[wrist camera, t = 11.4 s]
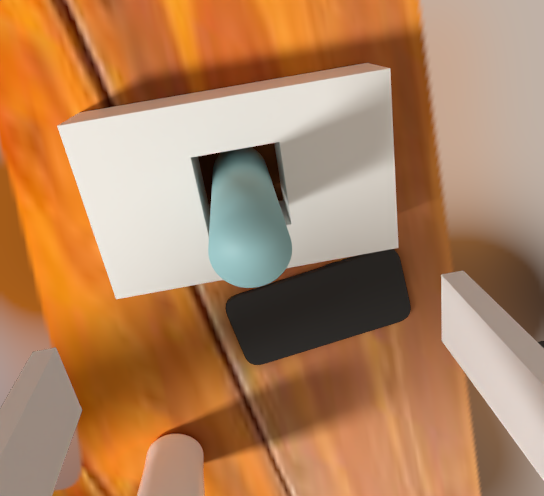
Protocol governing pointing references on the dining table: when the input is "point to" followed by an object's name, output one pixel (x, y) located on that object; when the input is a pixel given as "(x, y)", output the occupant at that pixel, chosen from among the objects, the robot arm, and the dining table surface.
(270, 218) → the teal peg
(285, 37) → the dining table surface
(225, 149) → the socket block
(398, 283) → the phone
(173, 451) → the drinking glass
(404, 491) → the dining table surface
